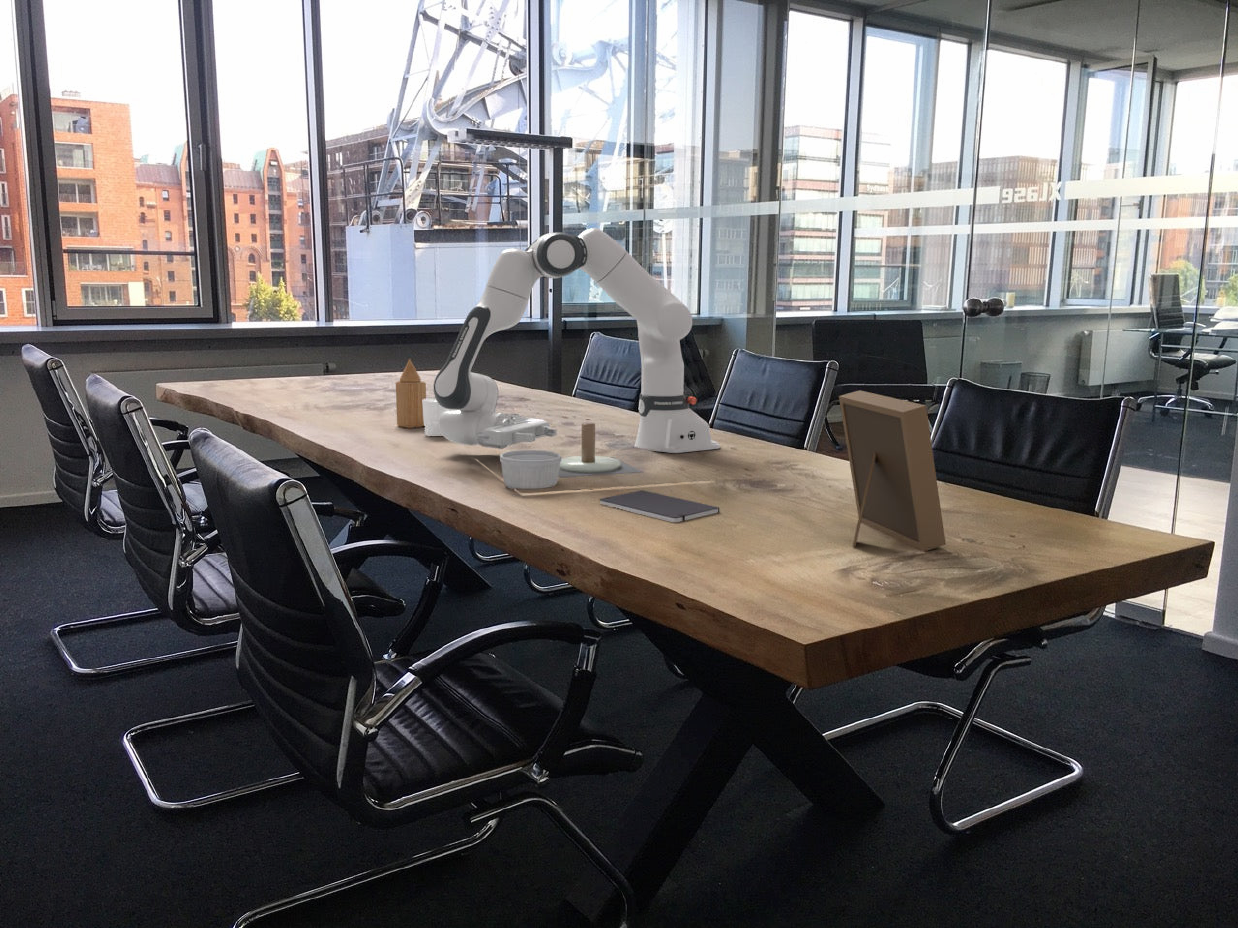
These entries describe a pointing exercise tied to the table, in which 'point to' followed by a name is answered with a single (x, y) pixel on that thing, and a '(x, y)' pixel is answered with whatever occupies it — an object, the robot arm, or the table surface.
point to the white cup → (432, 416)
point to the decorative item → (410, 398)
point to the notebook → (659, 506)
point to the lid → (589, 456)
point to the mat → (623, 469)
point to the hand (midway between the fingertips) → (544, 435)
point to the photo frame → (893, 468)
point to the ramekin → (530, 468)
